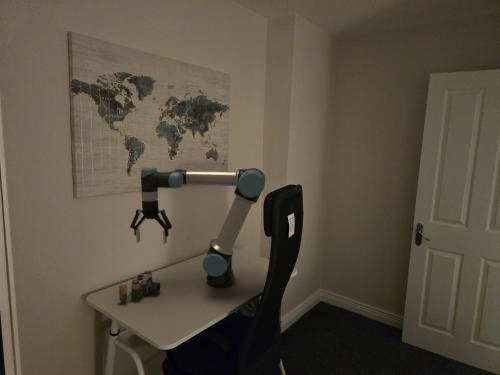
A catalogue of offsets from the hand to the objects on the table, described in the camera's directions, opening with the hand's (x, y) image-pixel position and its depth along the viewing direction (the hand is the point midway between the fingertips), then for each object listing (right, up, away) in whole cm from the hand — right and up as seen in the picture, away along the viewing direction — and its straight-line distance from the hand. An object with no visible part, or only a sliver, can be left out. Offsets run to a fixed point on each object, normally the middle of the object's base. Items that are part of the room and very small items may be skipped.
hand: (151, 242), depth 161 cm
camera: (-1, -25, -3) cm, 25 cm away
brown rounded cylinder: (-9, -25, -12) cm, 30 cm away
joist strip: (-8, -25, -5) cm, 26 cm away
